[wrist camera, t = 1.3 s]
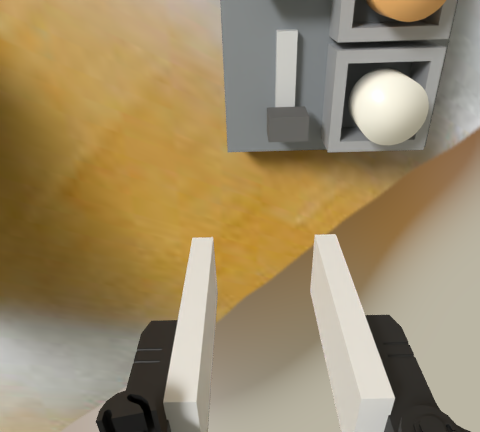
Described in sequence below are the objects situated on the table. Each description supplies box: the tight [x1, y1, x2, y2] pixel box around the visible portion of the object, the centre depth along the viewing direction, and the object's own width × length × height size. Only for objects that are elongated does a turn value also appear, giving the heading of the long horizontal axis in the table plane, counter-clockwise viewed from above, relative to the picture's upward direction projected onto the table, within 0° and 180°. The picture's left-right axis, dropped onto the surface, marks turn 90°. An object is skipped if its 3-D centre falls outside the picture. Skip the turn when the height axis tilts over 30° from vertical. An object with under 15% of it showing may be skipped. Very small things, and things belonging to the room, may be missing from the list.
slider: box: [267, 106, 310, 142], centre depth 29 cm, size 3×2×2 cm, turn 92°
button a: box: [348, 68, 429, 145], centre depth 27 cm, size 4×4×3 cm
